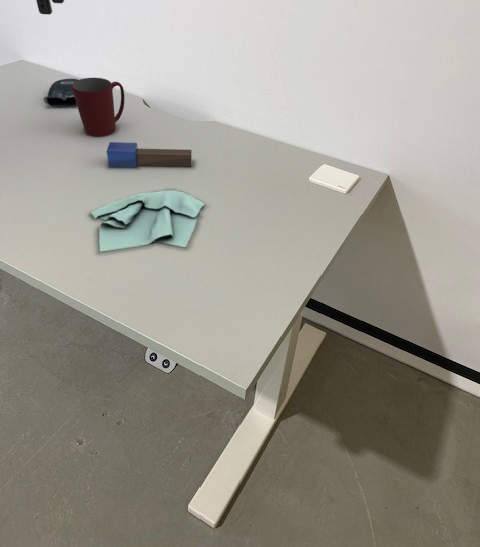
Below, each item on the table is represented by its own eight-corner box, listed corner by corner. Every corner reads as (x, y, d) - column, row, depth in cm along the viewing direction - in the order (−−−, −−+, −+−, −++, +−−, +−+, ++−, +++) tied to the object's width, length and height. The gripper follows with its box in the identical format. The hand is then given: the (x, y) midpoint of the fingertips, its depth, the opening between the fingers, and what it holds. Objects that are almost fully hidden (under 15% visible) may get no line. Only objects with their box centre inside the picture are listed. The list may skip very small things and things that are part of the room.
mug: (119, 116, 111) (112, 72, 103) (136, 129, 106) (130, 84, 98) (75, 127, 105) (65, 82, 97) (91, 141, 100) (81, 94, 93)
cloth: (215, 201, 85) (215, 191, 83) (170, 270, 70) (169, 260, 68) (125, 180, 89) (123, 170, 87) (64, 242, 74) (60, 231, 72)
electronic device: (84, 112, 115) (88, 83, 124) (76, 93, 110) (81, 65, 119) (50, 116, 114) (56, 88, 123) (40, 98, 110) (48, 69, 119)
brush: (191, 169, 94) (190, 152, 91) (109, 167, 92) (106, 150, 90) (192, 160, 96) (191, 143, 94) (112, 158, 95) (109, 142, 92)
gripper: (18, -110, 74) (43, -2, 85) (-13, -106, 64) (20, 16, 75) (62, -106, 74) (81, 0, 86) (38, -102, 64) (63, 19, 75)
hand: (52, 8), depth 80 cm, fingers open, 8 cm apart
